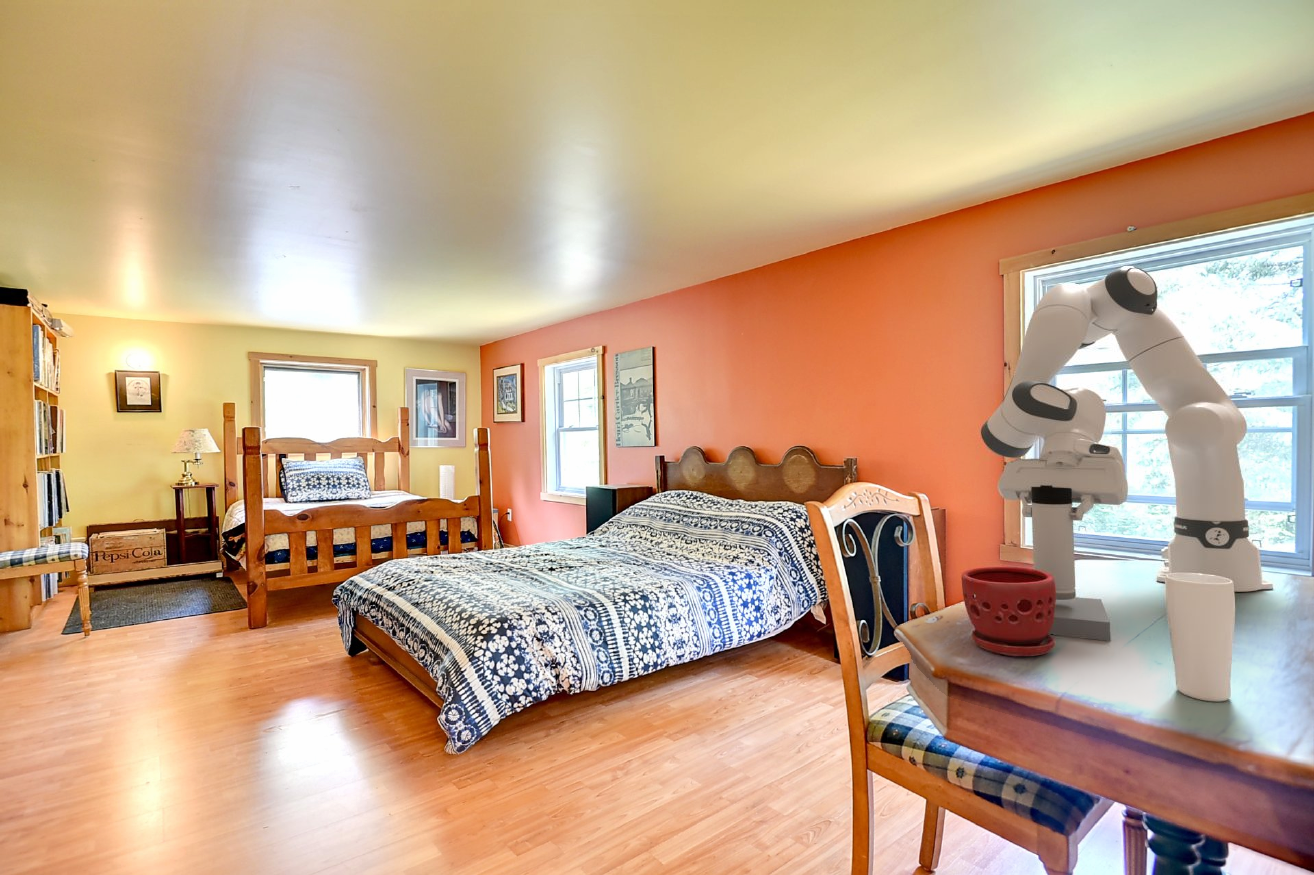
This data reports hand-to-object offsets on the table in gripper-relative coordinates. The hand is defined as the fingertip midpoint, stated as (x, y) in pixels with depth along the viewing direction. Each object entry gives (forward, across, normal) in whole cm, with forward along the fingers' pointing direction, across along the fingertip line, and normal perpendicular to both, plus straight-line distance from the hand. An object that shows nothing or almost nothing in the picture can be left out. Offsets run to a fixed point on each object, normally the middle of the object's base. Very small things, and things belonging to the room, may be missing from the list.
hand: (1050, 516), depth 113 cm
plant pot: (+27, -1, 0) cm, 27 cm away
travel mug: (+10, 0, +11) cm, 14 cm away
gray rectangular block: (+13, 0, +14) cm, 19 cm away
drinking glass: (+29, +23, -2) cm, 37 cm away
